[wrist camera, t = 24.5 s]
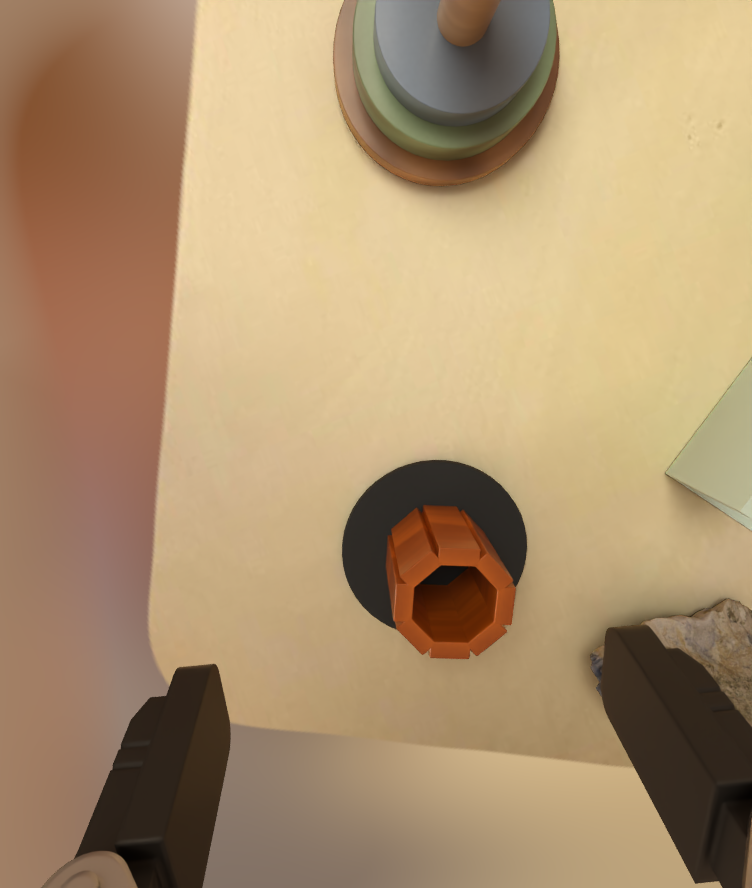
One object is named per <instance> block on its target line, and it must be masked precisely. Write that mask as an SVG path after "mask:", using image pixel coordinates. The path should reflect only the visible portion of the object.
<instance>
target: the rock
mask: <svg viewBox="0 0 752 888" xmlns="http://www.w3.org/2000/svg"><path fill="white" fill-rule="evenodd" d="M642 624H646V625H648V626H649V627H650V628H651V629H652V630H653V631H654V633H655V634H656V635H657V637H658V638H659V639H660V641H661V642H662V643H663V645H664V646H665V648H666V649H672V648H679V649H681V650H682V651H684V652H685V653H686V654H688V655H689V656H691V657H692V658H693V659H695V660H696V661H698V662H699V663H700V664H702V665H703V666H704V667H705V668H706V670H707V671H708V672H709V673H710V675H711V676H712V677H713V679H714V680H715V681H716V682H717V684H718V685H719V686H720V689H721V691H722V692H723V691H724V692H725V694H726V695H727V696H728V698H729V699H730V700H731V701H732V703H733V704H734V707H735V709H736V710H739V711H740V713H741V714H742V715H743V717H744V718H745V719H746V720H747V722H748V723H749V724H750V725H751V727H752V611H751V610H750V609H749V608H748V607H746V606H744V605H742V604H741V603H740V601H739V602H736V601H734V600H731V599H726V600H724V601H723V602H722V603H719V604H718V605H716V606H715V607H713V608H712V609H708V608H705V609H703V610H701V611H698V612H696V613H695V614H694V615H693V616H692V617H686V616H683V615H677V616H671V617H668V618H654V619H652V620H645V621H643V622H642V623H641V624H640V625H642ZM603 655H604V645H603V646H600V647H599V648H597V649H595V650H594V651H593V653H592V654H591V655H590V658H591V660H592V665H591V666H590V668H591V669H592V671H593V673H594V674H595V676H596V677H597V679H598V680H599V684H598V685H597V687H596V689H597V691H598V692H599V694H600V695H601V675H602V665H603ZM601 697H602V695H601Z"/></svg>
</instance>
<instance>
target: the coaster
mask: <svg viewBox="0 0 752 888" xmlns="http://www.w3.org/2000/svg"><path fill="white" fill-rule="evenodd" d="M423 505H432V506H456V507H457V508H458V510H459V511H462V510H464V511H465V512H466V513H467V514H468V515H469V516H470V517H471V518H472V519H473V521H474V522H475V523H476V524H477V525H478V526H479V527H480V528H481V529H482V530H483V532H484V533H485V534H486V536H487V538H488V539H489V541H490V543H491V544H492V546H493V548H494V549H495V551H496V553H497V554H498V556H499V557H500V559H501V561H502V562H503V564H504V566H505V567H506V569H507V571H508V572H509V574H510V576H511V577H512V579H513V582H512V583H513V584H514V586H515V587H516V585H517V584H518V582H519V579H520V577H521V574H522V572H523V568H524V564H525V560H526V551H527V539H526V532H525V526H524V523H523V520H522V517H521V514H520V512H519V510H518V508H517V506H516V504H515V503H514V501H513V500H512V498H511V497H510V495H509V494H508V493H507V492H506V491H505V490H504V489H503V487H502V486H501V485H500V484H499V483H497V482H496V481H495V480H494V479H493V478H491V477H490V476H488V475H487V474H485V473H484V472H482V471H480V470H478V469H476V468H474V467H471V466H469V465H465V464H462V463H459V462H453V461H446V460H429V461H420V462H416V463H412V464H408V465H405V466H403V467H400V468H397V469H395V470H393V471H392V472H390V473H388V474H386V475H384V476H383V477H382V478H380V479H379V480H377V481H376V482H375V483H374V484H373V485H372V486H370V487H369V488H368V489H367V490H366V491H365V493H364V494H363V495H362V496H361V497H360V498H359V500H358V502H357V503H356V505H355V506H354V508H353V510H352V512H351V514H350V516H349V518H348V521H347V524H346V527H345V530H344V536H343V544H342V558H343V567H344V571H345V575H346V578H347V581H348V583H349V586H350V588H351V590H352V591H353V593H354V595H355V597H356V598H357V599H358V601H359V602H360V603H361V604H362V606H363V607H364V608H365V609H366V610H367V611H368V612H369V613H370V614H371V615H373V616H374V617H375V618H377V619H378V620H380V621H381V622H383V623H385V624H386V625H388V626H390V627H392V628H395V629H396V623H395V621H393V614H392V607H391V600H390V593H389V586H388V579H387V571H386V555H387V539H388V535H392V531H391V529H392V528H393V527H394V526H395V525H397V524H398V523H399V522H400V521H401V520H402V519H404V518H405V517H406V516H407V515H408V514H409V513H411V512H412V511H413V510H414V509H415V508H418V509H419V510H420V511H421V512H422V511H423ZM468 568H469V566H447V565H441V566H439V567H438V568H437V569H436V570H435V571H433V572H432V573H431V574H430V575H429V576H427V577H426V578H425V579H424V580H423V581H421V582H420V583H419V584H427V585H448V584H449V583H451V582H452V581H453V580H454V579H455V578H457V577H458V576H459V575H460V574H462V573H463V572H464V571H465V570H466V569H468Z"/></svg>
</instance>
